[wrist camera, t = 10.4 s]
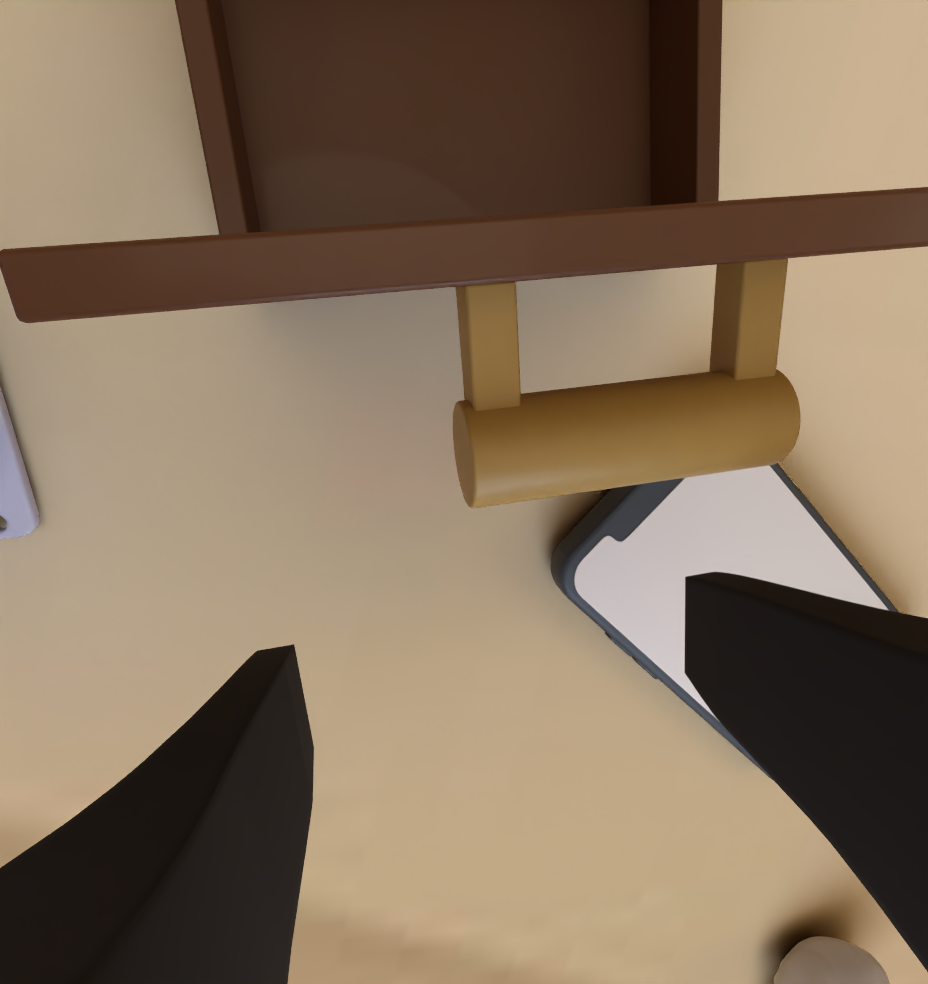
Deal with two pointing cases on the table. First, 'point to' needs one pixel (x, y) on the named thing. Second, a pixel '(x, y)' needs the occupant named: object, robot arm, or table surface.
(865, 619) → the robot arm
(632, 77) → the brown box tray
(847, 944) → the grey lumpy figure
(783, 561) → the smartphone
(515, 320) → the brown box lid
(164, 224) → the table surface
